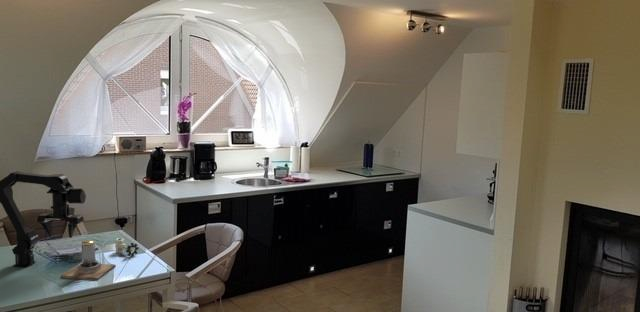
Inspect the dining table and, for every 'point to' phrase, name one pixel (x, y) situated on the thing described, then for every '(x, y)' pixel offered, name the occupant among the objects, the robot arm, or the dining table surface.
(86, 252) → the gray can
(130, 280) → the dining table surface
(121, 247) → the valve
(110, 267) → the flange board
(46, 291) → the dining table surface
